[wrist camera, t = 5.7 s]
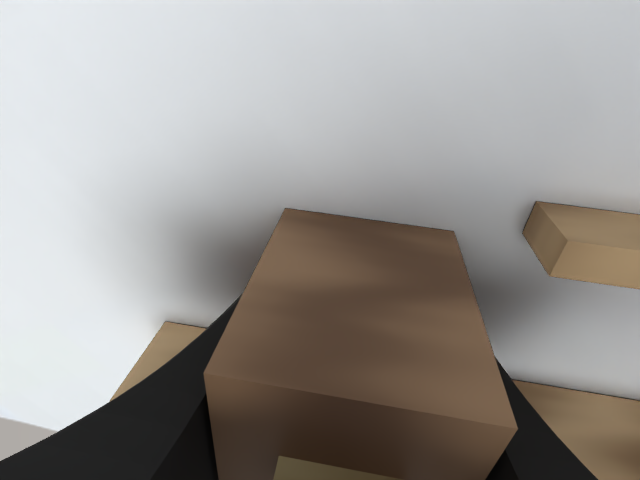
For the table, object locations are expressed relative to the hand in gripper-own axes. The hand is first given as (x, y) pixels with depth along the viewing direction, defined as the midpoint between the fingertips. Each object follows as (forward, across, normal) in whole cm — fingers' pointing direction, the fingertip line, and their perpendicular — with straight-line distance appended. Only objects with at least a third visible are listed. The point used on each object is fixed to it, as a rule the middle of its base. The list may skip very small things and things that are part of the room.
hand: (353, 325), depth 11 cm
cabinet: (+2, 0, 0) cm, 2 cm away
